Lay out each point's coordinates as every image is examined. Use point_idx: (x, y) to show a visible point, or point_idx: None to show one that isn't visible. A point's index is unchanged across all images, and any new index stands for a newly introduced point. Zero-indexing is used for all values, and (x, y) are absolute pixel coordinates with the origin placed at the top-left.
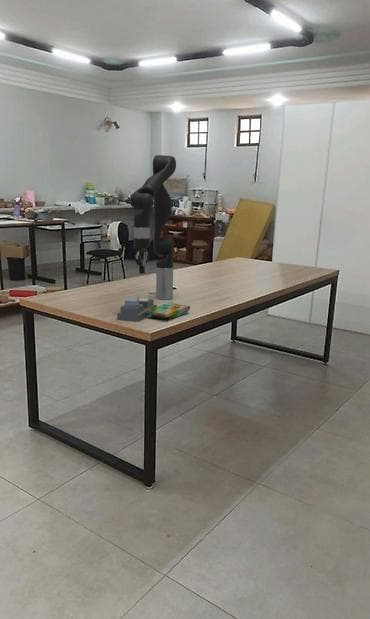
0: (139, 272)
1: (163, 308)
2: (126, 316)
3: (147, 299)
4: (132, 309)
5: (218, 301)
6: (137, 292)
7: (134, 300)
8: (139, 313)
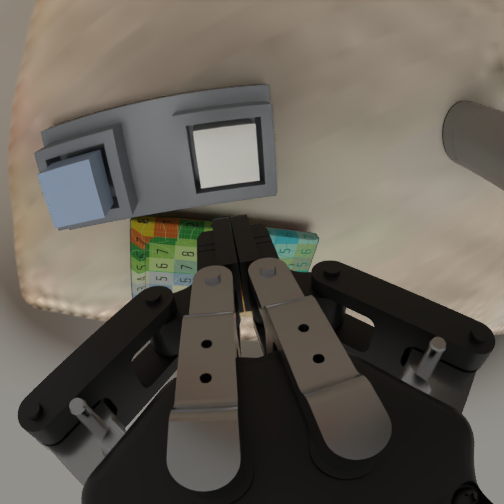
0: (212, 222)
1: None
2: None
3: (237, 179)
4: None
5: (439, 295)
6: (497, 17)
7: (66, 216)
8: None
